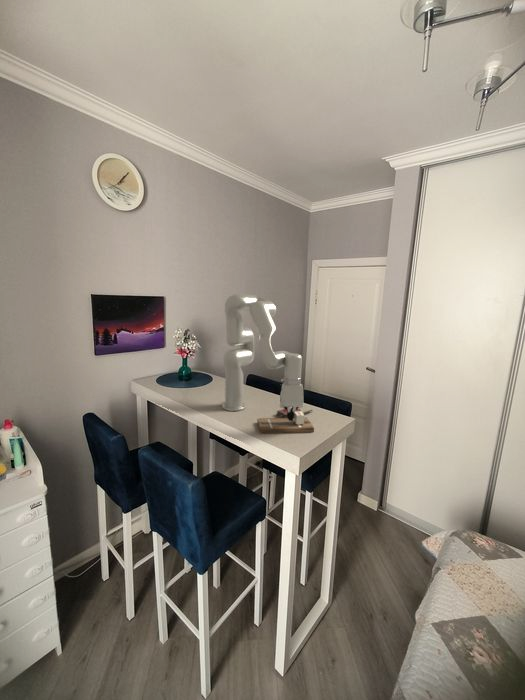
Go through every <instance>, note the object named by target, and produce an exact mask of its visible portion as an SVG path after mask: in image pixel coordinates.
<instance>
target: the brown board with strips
mask: <svg viewBox="0 0 525 700" xmlns="http://www.w3.org/2000/svg"><path fill="white" fill-rule="evenodd" d="M256 420H257V421H256V423H257V427H258V429H259V432H260V434H261V435H263V434H289V433H290V434H292V433H294V434H295V433H296V434H297V433H300V434H301V433H314V432H315V428H314V426H313V424H312V423H311V421H310V420H309V419H308V417H307V416H306V417H304V424H296V423H295V422H294V418H293V421H289V419H288V418H281V417H274V418H273V417H271V418H270V417H269V418H268V417H267V418H260V417H259V418H257V419H256Z"/></svg>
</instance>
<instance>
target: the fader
mask: <svg viewBox="0 0 525 700" xmlns="http://www.w3.org/2000/svg"><path fill="white" fill-rule="evenodd" d="M302 412H303V411H302V410H301V411H295V412H294V422H295V423H296V424H304V418H305V414H303V413H302Z"/></svg>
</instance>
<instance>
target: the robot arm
mask: <svg viewBox="0 0 525 700" xmlns="http://www.w3.org/2000/svg"><path fill="white" fill-rule="evenodd" d="M240 312H249V313H250V316H251V318H252V321H253V322H254V325H255V327H256V329H257V332H258V335H259V338H258V347H257V348H258V353H259V355H260V358H261V360H262V362H263V364H264V366H265V367H266V368H267V369H269V370H276V369H281V368H284V374H283V375H284V377H283V378H281V379H280V381H281V382H283V383H282V385H281V389H280V394H279V395H280V396H279V397H280V398H279V408H280V409H286V410H287V418H288V419H289V421H293V418H294V412H295V411H296V410H297V409H301V408H303V407H304V406H303V405H304V386H303V384H302V370H303V369H302V368H303V356H302V355H301V354H299V353H292V352H289V351H287V350H279V351H277V350H276V351H274V350H273V348H272V344H271V337H272V335H273V334H274V333H275V332H276V330H277V326H276V324H275V322H274V319H273V318H274V317H275V315H276V314H277V307H276V305H275V304H274V302H272V301H270V300H269V299H267V298H263V297H261V296H259V295H256V294H246V293H235V294H232V295H230V296H228V297H227V298H226V300H225V303H224V314H225V319H226V320H225V327H226V329H225V330H226V331H225V332H226V334H225V335H226V343H227V344H228V346H230V347H237V348H232V349H229V350H227V351H226V352H225V353H224V355H223V363H224V370H225V371H224V373H225V376H224V377H225V383H224V385H225V386H224V402H223V403H222V404H221V408H222V409H223V410H225V411H229V412H239V411H243V410H244V409H246V407H247V406H246V405H247V404H245V402H243V401H244V371H243V370H242V367H244V366H248V365H250V364H252V362H253V361H254V359H255V334H254V332H253V330H252V329H251V328H250V327H247V326H244V325H243V324H244V320H243V317H242V314H241V313H240ZM290 407H292V409H291V411H290Z"/></svg>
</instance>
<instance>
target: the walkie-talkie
mask: <svg viewBox="0 0 525 700" xmlns="http://www.w3.org/2000/svg"><path fill="white" fill-rule="evenodd" d="M291 409H292V407H290V411H291ZM296 411H302V410H301V408H298V409H297V410H296ZM310 412H313V409H309V410H306V411H302V413H303V414H304V415H305V414H309V413H310ZM276 416H277V417H278V418H287V410H286V409H284V408H281V409H279V410H277V411H276Z"/></svg>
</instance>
